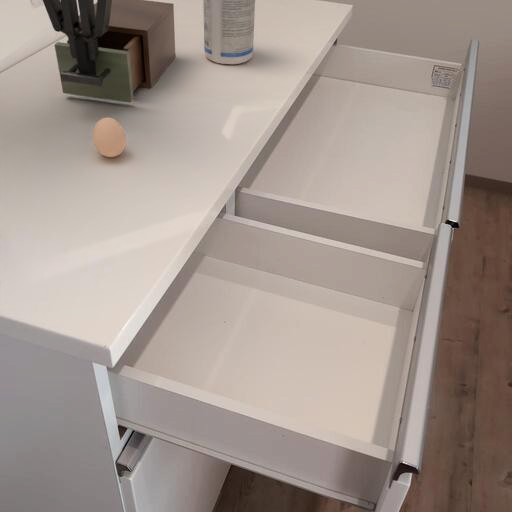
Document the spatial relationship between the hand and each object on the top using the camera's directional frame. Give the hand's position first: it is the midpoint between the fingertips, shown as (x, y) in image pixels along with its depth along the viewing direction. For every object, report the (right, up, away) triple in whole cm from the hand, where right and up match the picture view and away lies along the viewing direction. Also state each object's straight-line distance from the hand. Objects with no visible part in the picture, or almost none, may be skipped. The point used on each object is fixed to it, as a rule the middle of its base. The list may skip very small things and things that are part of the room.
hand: (88, 79), depth 84 cm
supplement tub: (+20, +12, +23) cm, 33 cm away
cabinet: (+3, +7, +16) cm, 18 cm away
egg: (+5, -13, -7) cm, 16 cm away
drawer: (+1, +1, +7) cm, 7 cm away
